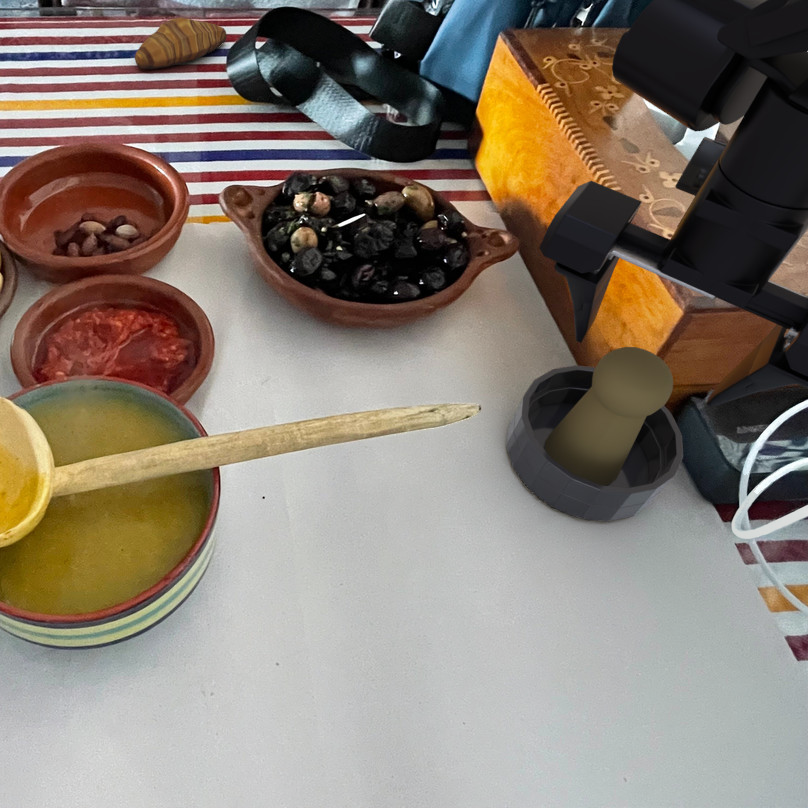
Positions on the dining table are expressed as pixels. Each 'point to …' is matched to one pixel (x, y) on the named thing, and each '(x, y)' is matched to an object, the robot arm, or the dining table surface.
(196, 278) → the dining table surface
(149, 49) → the croissant
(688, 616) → the dining table surface
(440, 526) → the dining table surface
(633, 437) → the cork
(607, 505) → the dark grey faceted bowl
